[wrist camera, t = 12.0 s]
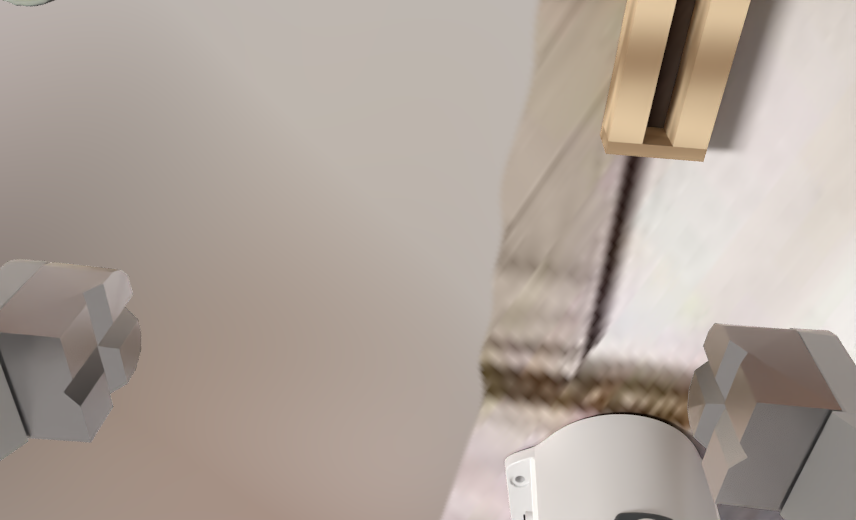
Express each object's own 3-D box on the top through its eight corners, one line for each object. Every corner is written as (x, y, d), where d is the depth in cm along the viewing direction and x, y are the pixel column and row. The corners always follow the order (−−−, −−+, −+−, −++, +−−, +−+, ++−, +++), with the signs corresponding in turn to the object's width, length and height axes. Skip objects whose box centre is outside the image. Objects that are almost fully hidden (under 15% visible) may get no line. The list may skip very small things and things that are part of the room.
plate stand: (692, 142, 45) (703, 161, 43) (600, 134, 45) (605, 153, 43) (742, -36, 39) (758, -26, 37) (636, -44, 40) (645, -34, 37)
